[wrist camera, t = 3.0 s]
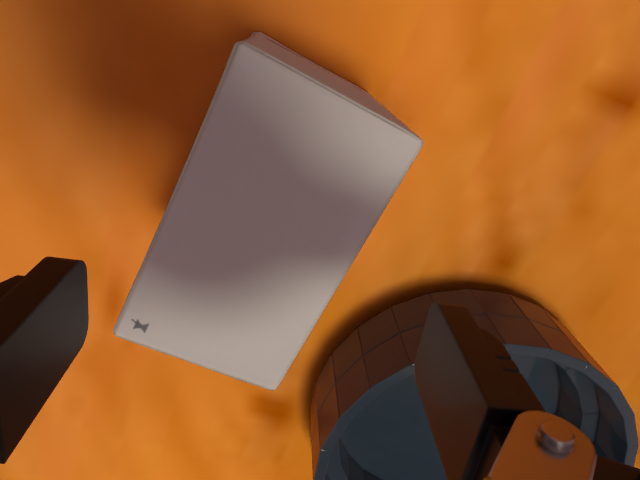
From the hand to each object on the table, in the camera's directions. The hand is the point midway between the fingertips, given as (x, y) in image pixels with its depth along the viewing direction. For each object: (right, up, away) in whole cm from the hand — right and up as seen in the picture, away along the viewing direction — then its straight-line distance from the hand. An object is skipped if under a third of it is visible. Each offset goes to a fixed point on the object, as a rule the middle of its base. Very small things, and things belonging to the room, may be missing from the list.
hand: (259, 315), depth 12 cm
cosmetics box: (-1, +6, +14) cm, 15 cm away
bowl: (+9, -9, +20) cm, 24 cm away
